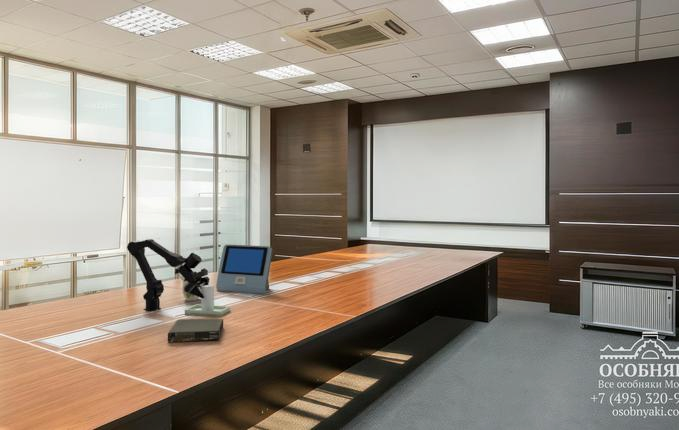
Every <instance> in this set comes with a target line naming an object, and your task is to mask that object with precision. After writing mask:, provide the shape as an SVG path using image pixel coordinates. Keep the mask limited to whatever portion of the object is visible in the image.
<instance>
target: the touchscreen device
mask: <svg viewBox="0 0 679 430" xmlns="http://www.w3.org/2000/svg"><path fill="white" fill-rule="evenodd" d="M273 251H274V249H273V248H272V247H271V246H267V245H252V244H251V245H248V244H247V245H246V244H224V245H223V249H222V253H221V258H220V262H219V267H218V273H217V278H216V284H215V287H216V291H218V292H219V291H221V292H229V293H231V292H232V293H241V294H242V293H243V294H244V293H245V294H254V295H255V294H257V295H259V294H260V295H266V293H267V290H269V289H270V284H269V276H270V269H271V262H272V257H273Z"/></svg>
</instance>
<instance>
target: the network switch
mask: <svg viewBox="0 0 679 430" xmlns="http://www.w3.org/2000/svg"><path fill="white" fill-rule="evenodd" d="M223 329H224V319H223V318H188V319H187V318H186V319H185V318H184V319H177V320H176V321H175V322H174V323H173V325H172V327H171V328H170V329H169V331H168V333H167V342H168V343H169V344H170V343H174V342H179V343H180V342H198V341H214V340H215V341H217V342H218V341H219V340H220V336H221V334H222V331H223Z"/></svg>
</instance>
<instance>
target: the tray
mask: <svg viewBox="0 0 679 430" xmlns="http://www.w3.org/2000/svg"><path fill="white" fill-rule="evenodd" d="M230 311H231V305H215V304H214V311H208V310H201V304H198V303H197V304H194V305H191V306H190V307H187V308H185V309H184V315H186V316H188V315H190V316H191V315H193V316H206V317H207V316H208V317H223V316H224V315H225V314H227V313H229V312H230Z"/></svg>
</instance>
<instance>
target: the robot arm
mask: <svg viewBox="0 0 679 430" xmlns="http://www.w3.org/2000/svg"><path fill="white" fill-rule="evenodd" d="M145 248H148V249H150V250H151V251H153V252H154V253H156V254H157V255H159V256H160V257H161V258H163V259H164V260H165V262H166V263H167V264H168V265H169V266H170V267H172V268H175V269H174V275H177V274H180V276H183V277H184V281H187V282H188V283H189V284H188V285H187V286H186V287H185V288H184V291H185V292H186V293H188V292H189V291H190V292H189V293H190V294H193V295H196V296H198V297H199V298H204V296H203V294H202V293H201V291H200V290H199V288H198V287H201V286H205V285H210V284H209V283H210V278H209V276H208V275H209V270H207V268H205V267H204V268H202V269H200V271H198V272H197V271H194V270H193V269H196V268H197V266H199V264H201V262H202V260H203V259H202V257H201V256H199V255H198V254H196V253H194V252H191V253H190V254H189V255H188V256H187V257H183V255H181V254H179V253H175V252H172V251H170V250H169V249H167V248H166V247H164V246H162V245H161V244H160V243H158V242H157V241H155V240H154V239H152V238H148V239H145V240H141V241H140V240H133V241H130V242H128V243H127V246H126V249H127V250H128V253H129V254H130V255H131V256H132V257H133V258H134V259H135V261H136V262H137V266H138V267H139V269H140V271H141V273H142V275H143V277H144V280H145V281H146V283H145V286H146V287H145V288H146V292H145V293H144V294H143V295H142V296H143V299H144V300H145V308H143V311H149V312H153V311H156V310H161V309H162V307H160V306H161V304H160V303H161V302H160V298H161V297H162V294H163V293H164V291H165V285H164V284H163V281H162V280H161V279H157V278H156V276H155V274H154V272H153V270H152V268H151V266H150V263H149V261H148V259H147V257H146V255H145V253H146V249H145ZM177 267H178V268H177ZM200 289H201V288H200Z"/></svg>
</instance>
